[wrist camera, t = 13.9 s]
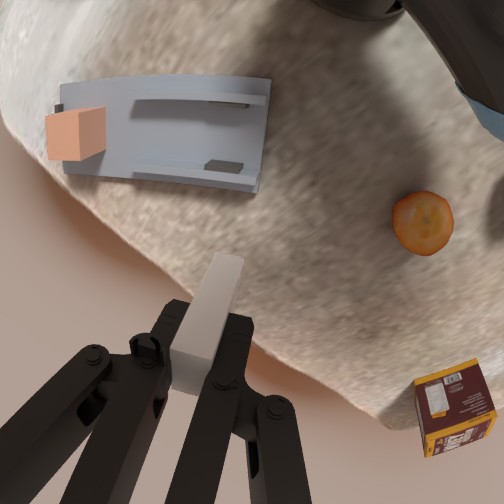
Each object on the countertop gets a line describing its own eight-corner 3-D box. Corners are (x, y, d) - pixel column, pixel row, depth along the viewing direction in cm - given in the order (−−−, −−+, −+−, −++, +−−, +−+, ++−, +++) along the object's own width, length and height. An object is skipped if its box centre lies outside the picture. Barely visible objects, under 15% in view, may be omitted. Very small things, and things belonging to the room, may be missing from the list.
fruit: (404, 263, 39) (410, 268, 31) (382, 210, 40) (383, 204, 32) (453, 240, 36) (468, 240, 28) (430, 188, 37) (441, 176, 29)
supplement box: (472, 382, 52) (488, 436, 39) (414, 402, 57) (423, 459, 44) (477, 356, 48) (499, 415, 35) (413, 379, 53) (425, 443, 40)
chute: (66, 83, 33) (46, 86, 29) (271, 79, 31) (268, 78, 27) (69, 170, 41) (51, 180, 37) (258, 189, 38) (253, 202, 34)
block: (73, 109, 34) (45, 116, 29) (106, 106, 33) (78, 112, 28) (74, 148, 37) (48, 160, 32) (106, 149, 37) (80, 160, 31)
